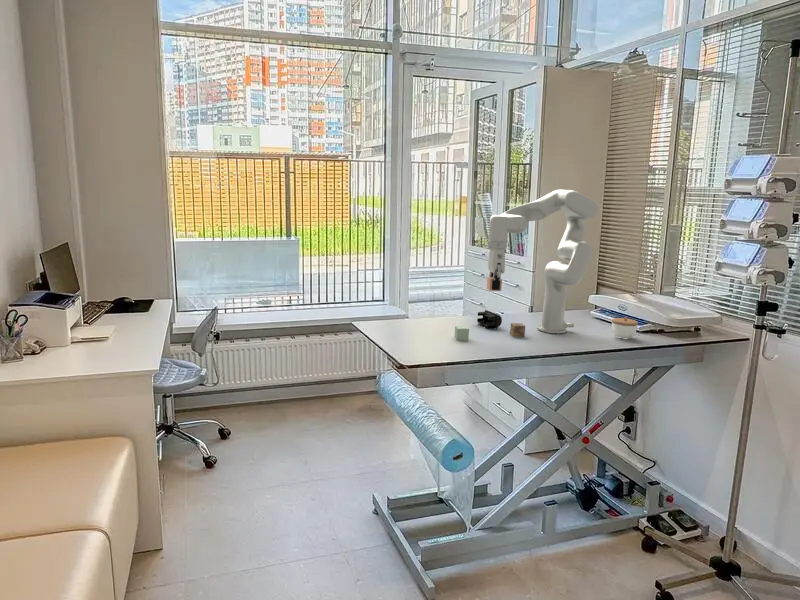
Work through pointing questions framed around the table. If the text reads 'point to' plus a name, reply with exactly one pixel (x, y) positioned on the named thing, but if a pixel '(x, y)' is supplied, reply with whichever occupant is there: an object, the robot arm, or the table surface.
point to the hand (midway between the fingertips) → (494, 288)
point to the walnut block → (517, 330)
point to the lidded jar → (624, 327)
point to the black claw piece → (489, 319)
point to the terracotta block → (489, 284)
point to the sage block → (461, 332)
